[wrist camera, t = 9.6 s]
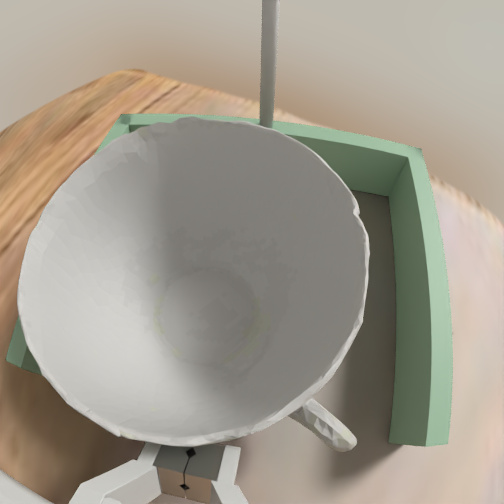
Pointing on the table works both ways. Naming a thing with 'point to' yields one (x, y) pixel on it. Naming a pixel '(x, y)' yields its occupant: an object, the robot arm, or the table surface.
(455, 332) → the table surface
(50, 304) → the teacup
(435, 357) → the corral
